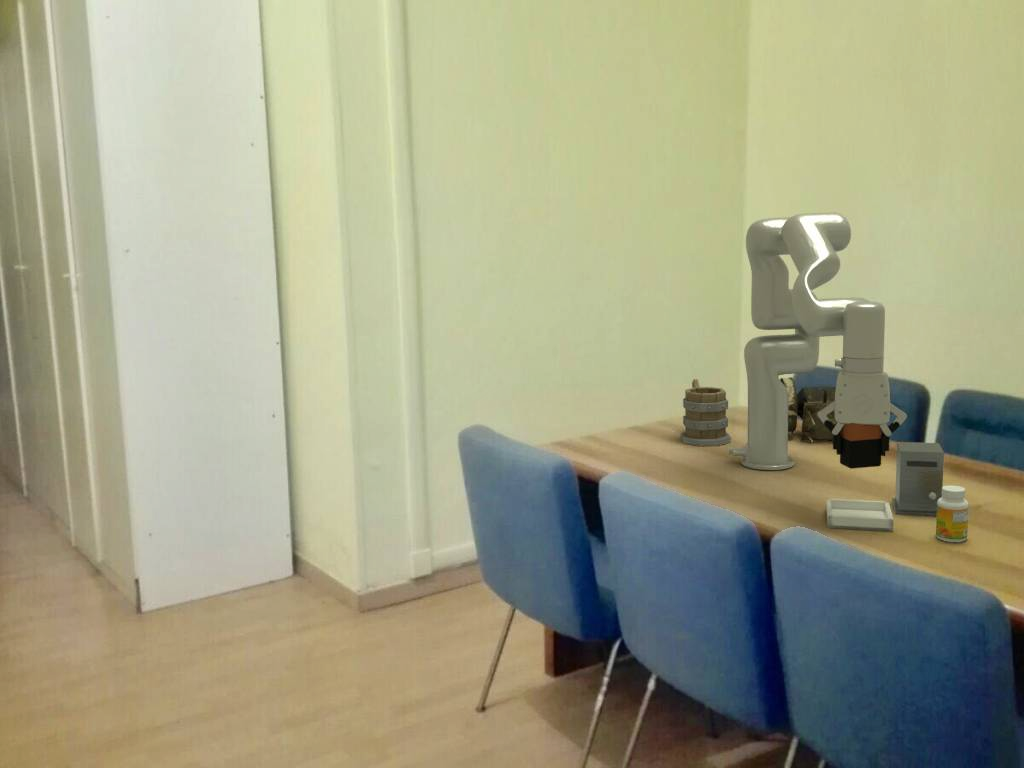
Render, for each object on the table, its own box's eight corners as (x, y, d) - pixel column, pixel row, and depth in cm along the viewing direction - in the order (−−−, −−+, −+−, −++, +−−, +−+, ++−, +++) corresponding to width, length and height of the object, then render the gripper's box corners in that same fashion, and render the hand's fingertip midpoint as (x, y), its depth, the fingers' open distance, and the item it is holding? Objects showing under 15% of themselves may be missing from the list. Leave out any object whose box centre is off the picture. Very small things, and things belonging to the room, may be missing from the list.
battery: (882, 466, 192) (883, 416, 191) (850, 469, 191) (851, 419, 189) (870, 461, 197) (871, 412, 195) (838, 464, 195) (839, 414, 194)
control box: (895, 514, 199) (897, 451, 197) (891, 500, 208) (893, 441, 205) (944, 516, 196) (947, 453, 194) (938, 503, 205) (941, 442, 203)
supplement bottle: (930, 534, 186) (932, 485, 185) (957, 532, 187) (959, 483, 185) (944, 543, 181) (947, 493, 179) (972, 542, 181) (975, 491, 180)
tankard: (733, 445, 260) (734, 390, 257) (685, 447, 260) (685, 391, 257) (718, 429, 279) (718, 377, 277) (674, 430, 280) (674, 378, 277)
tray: (827, 528, 192) (827, 516, 192) (826, 509, 203) (826, 498, 203) (893, 531, 189) (893, 519, 188) (888, 512, 200) (888, 501, 199)
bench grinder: (773, 415, 279) (775, 357, 267) (854, 411, 275) (860, 352, 264) (783, 462, 262) (785, 403, 251) (869, 458, 259) (875, 398, 247)
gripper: (816, 368, 189) (814, 457, 192) (913, 369, 184) (909, 460, 187) (815, 362, 196) (814, 448, 199) (908, 363, 192) (905, 450, 195)
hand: (860, 453), depth 193 cm, fingers closed on battery, 7 cm apart
